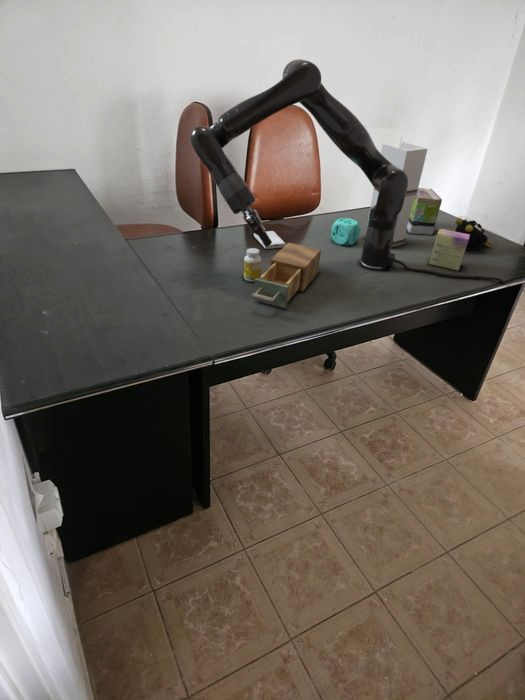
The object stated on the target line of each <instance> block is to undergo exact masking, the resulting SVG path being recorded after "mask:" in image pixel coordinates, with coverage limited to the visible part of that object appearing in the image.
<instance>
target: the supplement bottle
mask: <svg viewBox="0 0 525 700" xmlns="http://www.w3.org/2000/svg"><path fill="white" fill-rule="evenodd" d="M243 261H244V262H243V279H244V280H245V281H247V282H251V283H253V282H254V283H255V279H256V278H259V279H260V276H261V275H262V274H261V271H262V257H261V256H260V250H259V249H258V248H256V247H255V248H254V247H250V248H247V249H246V255H245V256H244V260H243Z"/></svg>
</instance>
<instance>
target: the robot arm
mask: <svg viewBox="0 0 525 700" xmlns="http://www.w3.org/2000/svg"><path fill="white" fill-rule="evenodd" d="M298 103H299V104H300V105H301V106H303V108H305V109H306V110H307V111H308V112H309V113H310V115H312V117H313V118H314V120H315V121H316V122H317V124H318V125H319V126H320V128H321V129H322V130H323V132H324V133H325V134H326V135H327V137H328V138H329V139H330V140H331V142H332V143H333V144H334V145H335V146H336V147H337V149H338V150H339V151H340V152H341V153H343V155H344V156H346V157H347V158H348V159H349V160H350V161H351V162H352V163H354V164H355V165H356V166H357V167H358V168H360V170H361V171H362V172H363V174H364V175H365V177H366V178H367V179H368V181H369V182H370V184H371V185H372V187H373V189H374V188H375V189H376V191H378V192H379V194H378V199H377V203H376V205H373V206H372V207H371V206H370V207H371V209H370V208H369V212H370V214H369V213H368V218H369V219H368V218H367V223H368V225H367V224H366V228H367V230H366V229H365V234H366V235H365V234H364V241H363V246H362V253H361V256H360V261H359V263H360V265H361V266H362V267H363V268H365V269H369V270H374V271H380V270H381V271H386V269H387V267H388V266H390V267H392V266H393V264H394V263H397V264H400V265H401V266H403V268H404V269H405V270H408V271H412V272H419V273H420V272H422V273H427V274H433V275H437V276H442V277H447V278H448V277H449V278H456V279H457V278H458V279H475V280H478V279H479V280H489V281H490V280H491V281H498V282H500V283H501V284H502V285H503V286H505V285H506V282H505V281H504V280H503V279H502V278H500V277H497V276H485V275H484V276H483V275H466V274H464V275H463V274H452V273H445V272H439V271H435V270H430V269H424V268H413V267H410V266H408V265H406V263H404V262H403V261H401V260H398V259H396V253H392V248H393V247H392V244H393V240H394V239H393V236H394V231H395V227H396V222H397V218H398V214H399V213H400V211H401V210H402V207H403V203H404V200H405V196H406V192H407V188H408V177H407V175H406V173H405V172H404V171H402V170H401V169H399V168H398V167H396V166H395V165H393V164H392V163H390V162H389V161H388V160H387V159H386V158H385V157H384V156H383V155H382V154H381V151H379V149H378V148H377V146H376V144H375V142H374V141H373V138H372V137H371V134H370V133H369V131H368V130H367V128H366V127H365V126H364V124H363V123H362V122H361V120H359V118H358V117H357V116H356V115H355V114H354V113H353V112H352V111H351V110H350V109H349V108H348V107H347V106H346V105H344V104H343V103H342V102H341V101H339V100H338V99H337V98H335V96H333V95H332V94H331V93H330V92H329V90H327V89H326V87H325V86H324V84H323V83H322V73H321V71H320V68H319V67H318V66H317V64H315V63H313V62H312V61H309V60H306V59H299V58H298V59H294V60H291V61H289V62H288V63H287V64H286V65H285V66H284V68H283V71H282V76H281V80H279V81H278V82H277V83H276V84H274V85H272V86H271V87H269V88H268V89H265V90H264V91H262V92H260V93H258V94H256V95H254V96H250V97H248V98H246V99H245V100H242V101H240V102H239V103H237V104H236V105H234V106H233V107H230V108H229V109H228V110H226V111H224V112H223V113H222V114H221V115H219V117H217V121H216V122H215V123H213V124H212V125H210V126H209V127H208V126H205V125H197V126H195V127H194V128H192V130H191V132H190V135H189V144H190V146H191V148H192V150H193V151H194V152H195V154H196V155H197V157H198V158H199V159H200V161H201V163H202V164H203V165H204V166H205V167H206V170H207V172H208V173H209V175H210V178H211V180H212V181H213V182H214V184H215V186H217V189H218V191H219V192H220V194H221V196H222V198H223V199H224V201H225V202H226V204H227V206H228V207H229V208H230V210H231V212H232V213H233V214H234V215H237V214H240V213H242V215H243V216H242V219H243V221H244V222H245V223H246V224H247V225H248V227H249V228H250V230H251V231H253V234H254V233H255V234H256V235H257V236H259V237H260V239H261V241H262V242H263V244H264V245H265V246H266V247H267V246H269V245H270V244H271V243H272V241H271V240H270V238H269V236H268V235H267V233H266V232H267V231H266V227H265V225H264V223H263V221H262V219H261V217H260V216H259V213H258V211H257V209H254V208H253V207H252V206H251V205H253V204H254V203H255V202H256V197H255V195H254V194H253V192H252V191H251V190H250V188H249V186H248V185H247V183H246V181H245V180H244V178H243V177H242V176H241V175H240V173H239V172H238V170H237V169H236V167H235V166H234V164H233V162H232V161H231V160H230V158H229V157H228V156H227V154H226V152H225V151H224V149H223V148H225V147H226V146H227V145H228V144H229V143H230V142H231V141H233V140H235V139H236V138H238V137H239V136H241V135H243V134H244V133H246V132H248V131H250V129H252V128H253V127H255V126H257V125H258V124H260V123H261V122H263V121H265V120H266V119H268V118H270V117H271V116H273V115H275V114H276V113H279V112H280V111H283V110H285V109H287V108H289V107H291V106H293V105H296V104H298Z"/></svg>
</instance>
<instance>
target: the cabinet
mask: <svg viewBox="0 0 525 700" xmlns="http://www.w3.org/2000/svg"><path fill="white" fill-rule="evenodd" d="M321 252H322V249H320V248H316V247H311V246H307V245H302V244H296V243H292V242H287V243H286V245H285V246H284V247H281V249H280V250H279V251H278V252H277V253H276V254H275V255H273V257H271V258H270V261H269V262H270V263H269V265H270V266H269V268H270V267H271V266H272V265H273V264H274V263H280V264H284V265H288V266H293V267H297V268H301V269H302V277H301V286H300V288H299V289H298V290H297V291H296V292H301V293H303V292H304V291H305V289H307V287H308V286H309V285H310V284H311V282H312V281H313V280H314V278H315V277H316V276H317V275H318V274H319V268H320V267H319V266H320V260H321Z"/></svg>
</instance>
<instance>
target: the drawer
mask: <svg viewBox="0 0 525 700" xmlns="http://www.w3.org/2000/svg"><path fill="white" fill-rule="evenodd" d="M301 277H302V269H301V268H297V267H293V266H288V265H284V264H280V263H274V264H273V265H272V266H271V267H270V266H269V267H268V268H267V270H266V271H264V272H263V273H262V274H261V275H260V279H259V278H256V279H255V282H254V286H253V292H252V294H251V298H252V299H253V300H254V301H257V302H261V303H265V304H269V305H273V306H277V307H281V308H283V309H284V308H285V309H286V308H287V307H288V303H289V301H290V300H291V298H293V296H294V295H295V294H296V292H298V291H297V290H298V289H299V288H300V286H301Z"/></svg>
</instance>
